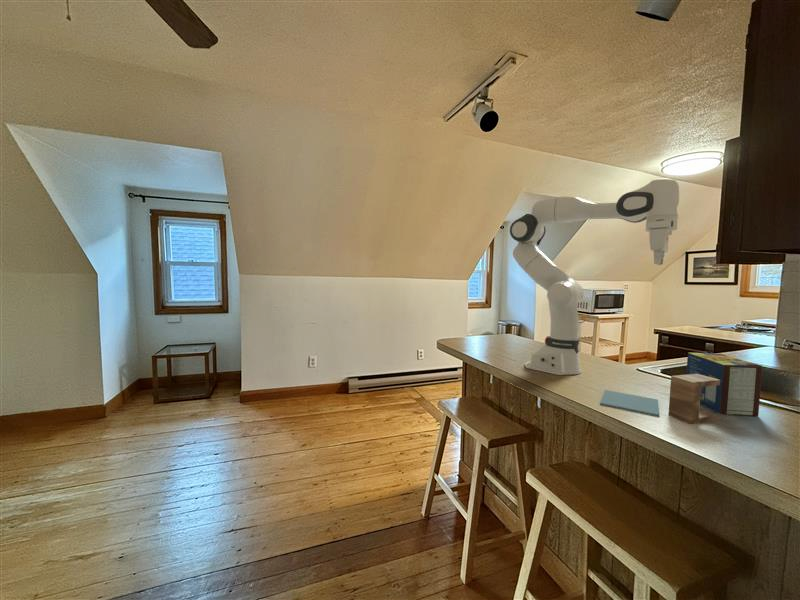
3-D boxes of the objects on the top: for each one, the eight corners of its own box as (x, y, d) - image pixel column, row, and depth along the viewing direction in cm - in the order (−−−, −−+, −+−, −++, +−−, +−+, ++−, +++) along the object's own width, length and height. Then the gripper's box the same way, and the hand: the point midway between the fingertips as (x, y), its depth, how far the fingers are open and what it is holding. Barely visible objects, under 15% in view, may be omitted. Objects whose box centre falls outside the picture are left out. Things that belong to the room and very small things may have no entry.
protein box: (717, 397, 112) (721, 353, 111) (759, 417, 97) (764, 365, 96) (683, 395, 114) (686, 352, 113) (719, 414, 99) (723, 364, 98)
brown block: (690, 424, 92) (693, 382, 91) (668, 415, 98) (671, 375, 97) (716, 420, 95) (720, 379, 94) (694, 412, 100) (697, 373, 99)
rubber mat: (600, 404, 106) (600, 402, 106) (604, 391, 118) (604, 389, 118) (659, 416, 97) (659, 414, 97) (657, 401, 109) (657, 399, 109)
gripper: (653, 229, 127) (650, 265, 128) (646, 223, 112) (644, 263, 113) (674, 227, 123) (671, 264, 124) (670, 221, 108) (667, 263, 109)
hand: (658, 264), depth 118 cm, fingers open, 8 cm apart
